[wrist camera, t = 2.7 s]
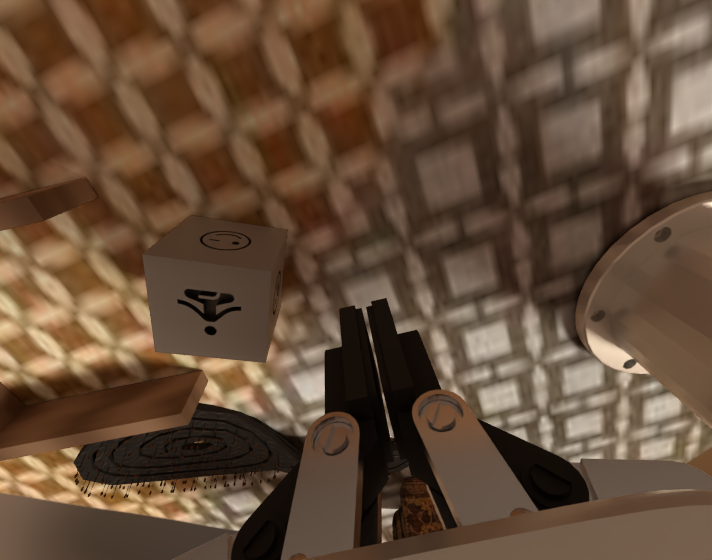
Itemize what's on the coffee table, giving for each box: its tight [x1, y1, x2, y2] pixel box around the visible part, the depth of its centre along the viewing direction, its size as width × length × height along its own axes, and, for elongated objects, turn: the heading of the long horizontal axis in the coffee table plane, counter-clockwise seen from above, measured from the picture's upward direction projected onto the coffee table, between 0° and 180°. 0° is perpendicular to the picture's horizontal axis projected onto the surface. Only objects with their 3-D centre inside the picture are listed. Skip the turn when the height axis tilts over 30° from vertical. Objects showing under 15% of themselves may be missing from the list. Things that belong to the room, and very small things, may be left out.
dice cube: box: [142, 215, 287, 363], centre depth 17 cm, size 5×5×5 cm
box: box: [0, 178, 208, 461], centre depth 18 cm, size 14×14×4 cm
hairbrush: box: [74, 403, 409, 499], centre depth 26 cm, size 8×4×25 cm
